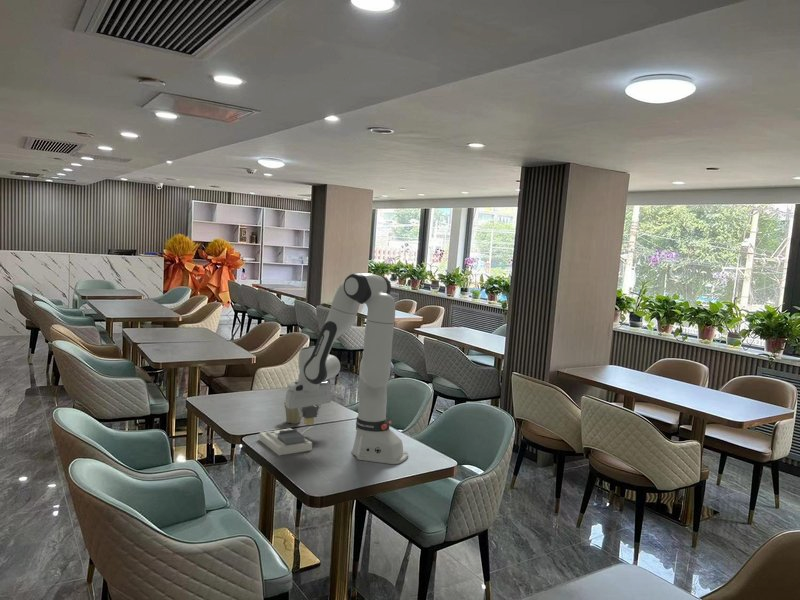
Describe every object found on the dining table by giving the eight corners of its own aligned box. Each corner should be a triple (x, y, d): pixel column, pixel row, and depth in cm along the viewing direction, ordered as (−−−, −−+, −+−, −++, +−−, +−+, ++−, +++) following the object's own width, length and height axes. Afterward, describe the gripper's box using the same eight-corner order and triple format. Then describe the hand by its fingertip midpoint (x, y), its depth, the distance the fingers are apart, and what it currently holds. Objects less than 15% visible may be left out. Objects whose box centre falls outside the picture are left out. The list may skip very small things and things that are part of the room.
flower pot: (292, 426, 260) (293, 407, 259) (278, 421, 265) (279, 402, 265) (308, 422, 267) (309, 403, 267) (293, 417, 273) (294, 399, 272)
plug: (316, 424, 249) (316, 407, 248) (306, 426, 246) (306, 409, 245) (311, 421, 253) (311, 405, 252) (301, 423, 250) (301, 406, 249)
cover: (303, 441, 230) (304, 433, 230) (284, 444, 226) (285, 436, 225) (296, 436, 236) (296, 428, 236) (277, 439, 231) (277, 431, 231)
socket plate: (311, 450, 231) (312, 440, 231) (278, 455, 223) (279, 445, 223) (290, 435, 247) (291, 426, 247) (259, 439, 239) (259, 430, 239)
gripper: (327, 379, 256) (327, 410, 257) (283, 385, 245) (284, 417, 246) (334, 382, 251) (334, 413, 252) (289, 388, 240) (290, 421, 241)
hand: (309, 415), depth 249 cm, fingers closed on plug, 5 cm apart
